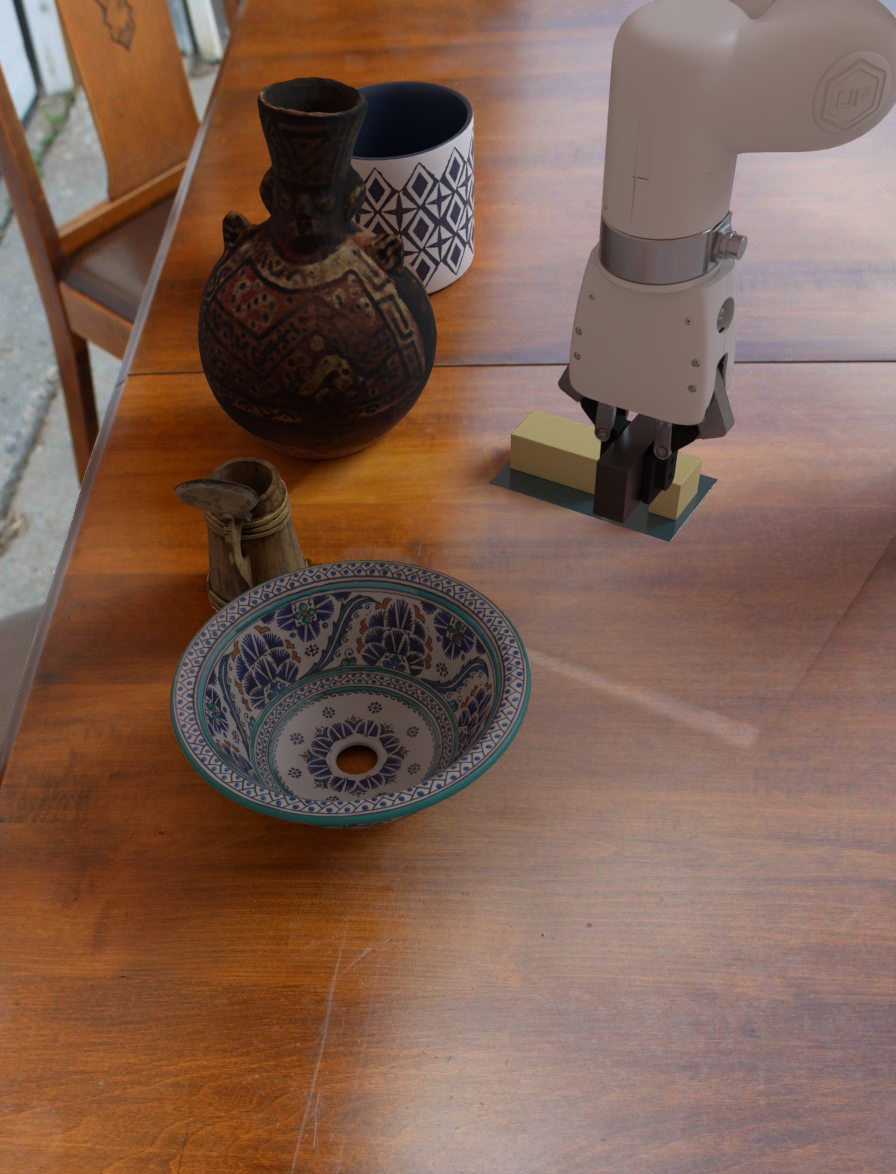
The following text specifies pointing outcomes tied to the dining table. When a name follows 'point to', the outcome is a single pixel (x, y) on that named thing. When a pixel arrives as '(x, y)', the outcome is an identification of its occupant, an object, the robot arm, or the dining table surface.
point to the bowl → (350, 692)
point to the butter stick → (556, 450)
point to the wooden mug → (244, 526)
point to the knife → (623, 471)
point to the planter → (419, 175)
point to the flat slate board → (585, 501)
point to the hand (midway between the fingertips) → (634, 484)
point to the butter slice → (679, 487)
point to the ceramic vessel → (314, 292)
